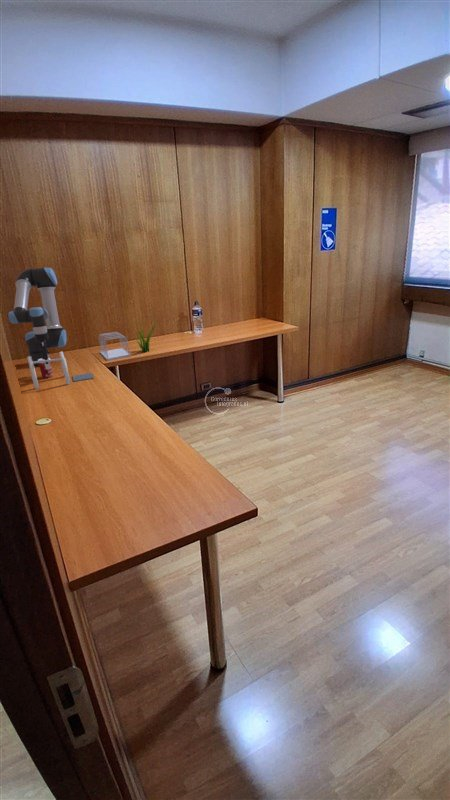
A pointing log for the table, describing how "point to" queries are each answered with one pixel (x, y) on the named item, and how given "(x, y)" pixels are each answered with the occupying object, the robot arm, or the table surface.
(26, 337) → the robot arm
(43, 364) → the coffee cup
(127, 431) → the table surface
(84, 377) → the mat
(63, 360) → the white hurdle
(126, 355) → the file sorter
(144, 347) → the decorative plant
